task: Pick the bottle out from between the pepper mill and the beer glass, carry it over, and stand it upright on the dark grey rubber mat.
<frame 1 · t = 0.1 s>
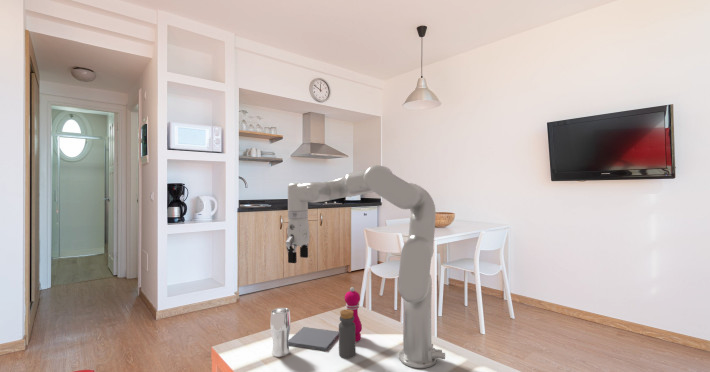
hand: (298, 260, 130), 31 cm above the table, tool pointing down, fingers open, 9 cm apart
bottle: (347, 354, 120), on the table
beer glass: (280, 353, 121), on the table
pepper mill: (352, 339, 132), on the table
mat: (314, 339, 131), on the table
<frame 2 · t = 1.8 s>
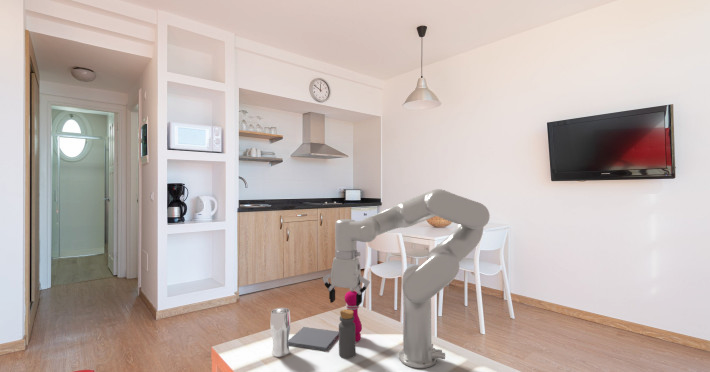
hand: (345, 303, 120), 18 cm above the table, tool pointing down, fingers open, 9 cm apart
nothing on the table moved.
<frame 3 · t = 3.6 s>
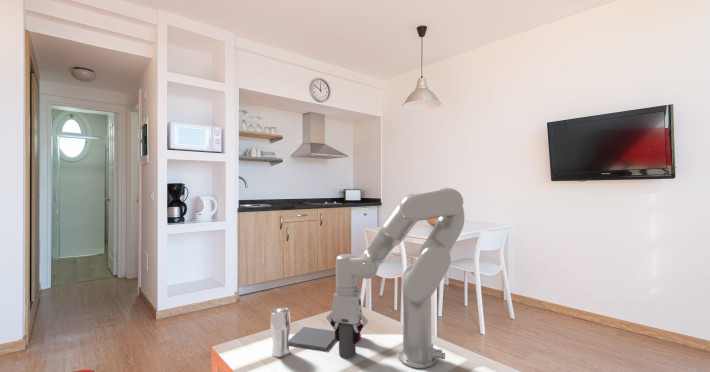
hand: (347, 340, 120), 5 cm above the table, tool pointing down, fingers closed on bottle, 5 cm apart
bottle: (347, 354, 120), on the table, touching gripper
everything else where it was.
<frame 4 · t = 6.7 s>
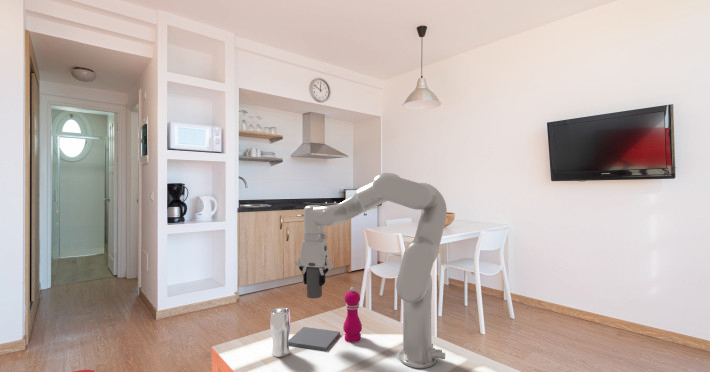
hand: (314, 283, 131), 22 cm above the table, tool pointing down, fingers closed on bottle, 5 cm apart
bottle: (314, 296, 131), point 17 cm above the table, touching gripper
everything else where it was.
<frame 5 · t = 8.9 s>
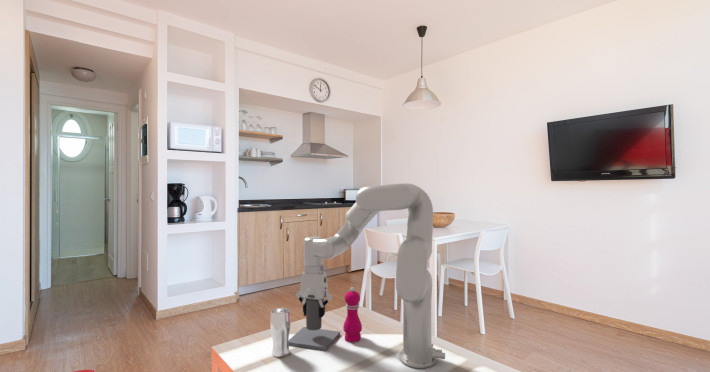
hand: (313, 315, 131), 9 cm above the table, tool pointing down, fingers closed on bottle, 5 cm apart
bottle: (313, 327, 131), point 5 cm above the table, touching gripper
everything else where it was.
when the fingers open (7 cm above the table, at t = 10.3 s): bottle drops 1 cm, resting on mat.
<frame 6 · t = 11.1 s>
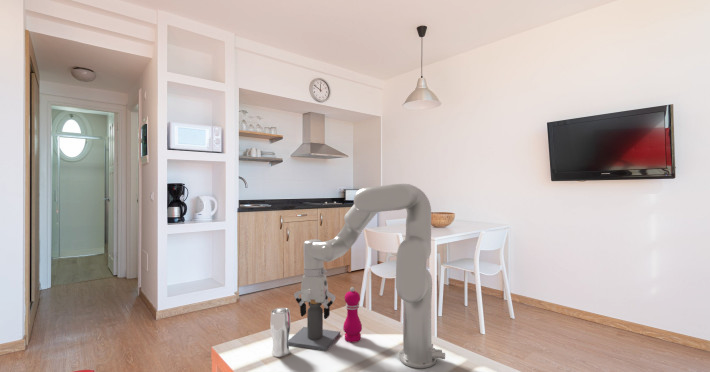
hand: (314, 316, 131), 9 cm above the table, tool pointing down, fingers open, 9 cm apart
bottle: (315, 337, 131), point 1 cm above the table, touching mat
everything else where it was.
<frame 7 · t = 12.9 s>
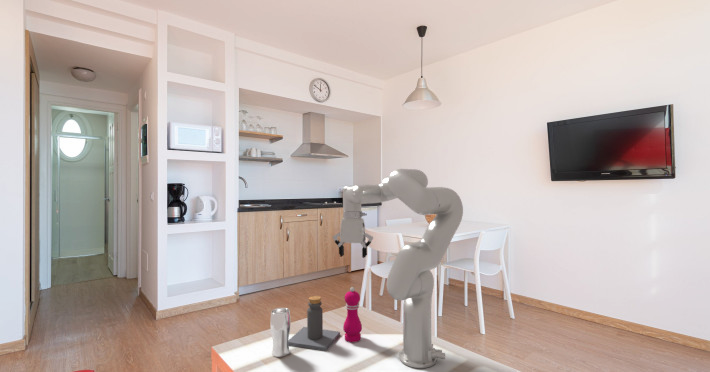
hand: (352, 256, 141), 30 cm above the table, tool pointing down, fingers open, 9 cm apart
nothing on the table moved.
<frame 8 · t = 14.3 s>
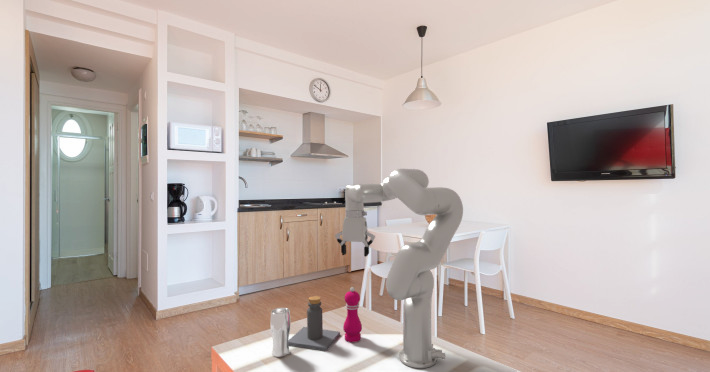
hand: (355, 255, 142), 30 cm above the table, tool pointing down, fingers open, 9 cm apart
nothing on the table moved.
at the end: bottle inside the target area on the mat (0.4 cm from its centre), point 1.0 cm above the mat's base; bottle tilted 0°; the gripper is holding nothing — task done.
